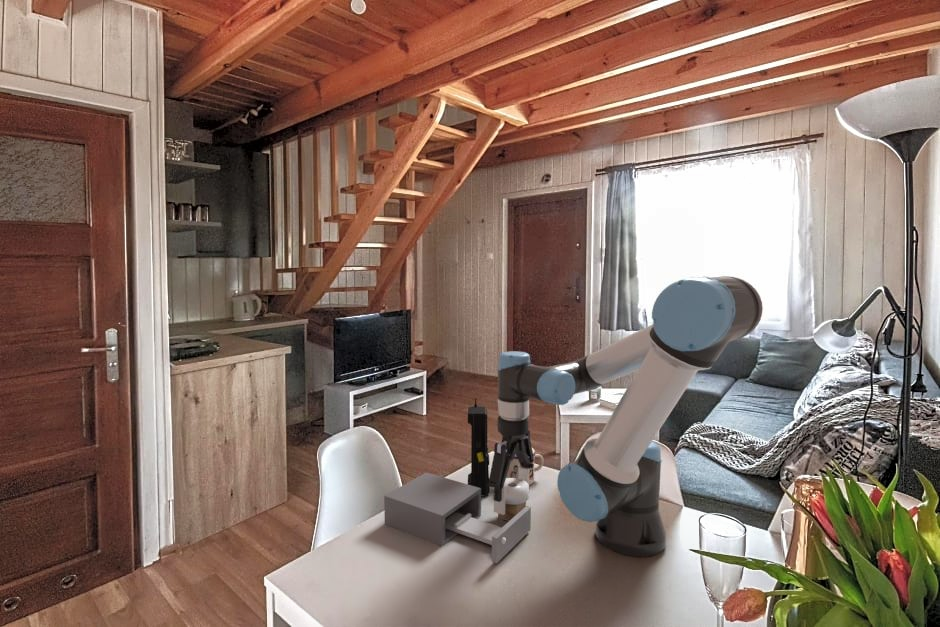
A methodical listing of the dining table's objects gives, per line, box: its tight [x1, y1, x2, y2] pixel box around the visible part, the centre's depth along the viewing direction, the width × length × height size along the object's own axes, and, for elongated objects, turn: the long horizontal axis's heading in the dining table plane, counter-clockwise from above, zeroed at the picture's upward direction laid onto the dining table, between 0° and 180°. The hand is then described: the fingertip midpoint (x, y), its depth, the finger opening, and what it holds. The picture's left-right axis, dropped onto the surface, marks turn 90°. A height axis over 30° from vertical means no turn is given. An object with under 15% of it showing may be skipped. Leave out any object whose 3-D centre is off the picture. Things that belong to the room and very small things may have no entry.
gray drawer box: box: [383, 472, 482, 547], centre depth 121 cm, size 17×16×7 cm
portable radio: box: [467, 397, 491, 497], centre depth 135 cm, size 8×6×25 cm
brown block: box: [497, 501, 527, 522], centre depth 123 cm, size 5×5×5 cm
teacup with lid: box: [506, 447, 545, 486], centre depth 143 cm, size 12×9×12 cm
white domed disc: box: [504, 478, 530, 505], centre depth 123 cm, size 8×8×3 cm
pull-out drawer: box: [445, 505, 532, 564], centre depth 114 cm, size 18×16×5 cm
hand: (512, 502), depth 123 cm, fingers open, 12 cm apart
